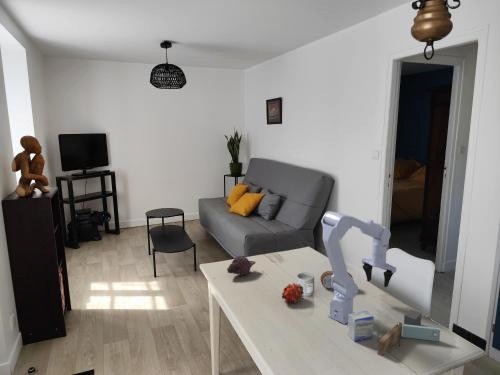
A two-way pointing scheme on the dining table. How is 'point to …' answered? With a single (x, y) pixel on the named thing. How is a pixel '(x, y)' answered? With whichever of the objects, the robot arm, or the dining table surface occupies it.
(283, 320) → the dining table surface
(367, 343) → the dining table surface
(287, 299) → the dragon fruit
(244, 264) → the purple toy animal
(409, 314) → the dark grey block
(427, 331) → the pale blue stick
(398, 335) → the brown wooden plank
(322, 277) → the tin
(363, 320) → the medicine box
